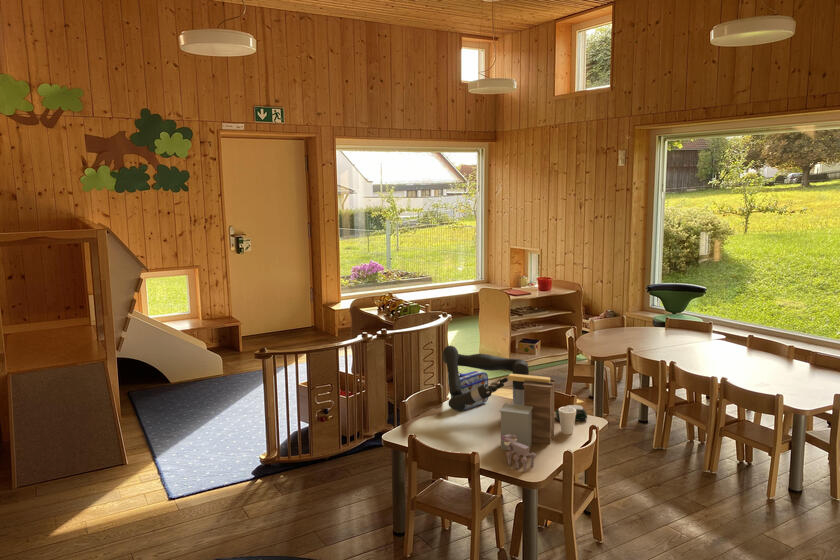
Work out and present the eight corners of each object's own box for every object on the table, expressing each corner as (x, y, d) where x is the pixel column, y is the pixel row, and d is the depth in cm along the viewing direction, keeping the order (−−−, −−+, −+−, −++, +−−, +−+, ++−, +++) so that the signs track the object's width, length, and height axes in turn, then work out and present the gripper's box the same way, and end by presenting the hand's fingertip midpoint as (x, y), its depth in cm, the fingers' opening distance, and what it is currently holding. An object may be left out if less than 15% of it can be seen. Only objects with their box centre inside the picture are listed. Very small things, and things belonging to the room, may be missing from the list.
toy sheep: (492, 460, 326) (493, 434, 324) (506, 454, 333) (507, 429, 331) (523, 473, 312) (524, 446, 310) (537, 467, 319) (538, 441, 317)
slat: (510, 377, 353) (510, 373, 353) (550, 381, 345) (550, 377, 345) (508, 380, 350) (508, 375, 349) (549, 384, 341) (549, 379, 341)
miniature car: (554, 416, 381) (554, 403, 379) (585, 416, 379) (585, 403, 378) (556, 422, 372) (556, 409, 371) (588, 422, 370) (588, 409, 369)
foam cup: (578, 431, 358) (579, 409, 356) (570, 436, 352) (570, 414, 349) (563, 427, 365) (563, 405, 362) (555, 432, 358) (555, 410, 355)
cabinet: (528, 431, 360) (528, 375, 354) (555, 435, 354) (555, 377, 348) (522, 440, 348) (522, 382, 342) (550, 444, 342) (551, 385, 336)
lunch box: (459, 414, 387) (458, 379, 383) (447, 409, 395) (446, 375, 391) (490, 402, 405) (490, 369, 401) (479, 398, 412) (478, 365, 408)
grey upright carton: (505, 440, 348) (505, 403, 345) (532, 444, 343) (532, 406, 339) (499, 449, 338) (499, 410, 335) (528, 453, 333) (528, 414, 329)
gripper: (473, 391, 353) (498, 379, 346) (481, 383, 366) (505, 371, 359) (480, 403, 353) (505, 391, 346) (487, 394, 366) (512, 383, 359)
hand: (505, 381), depth 353 cm, fingers open, 8 cm apart
